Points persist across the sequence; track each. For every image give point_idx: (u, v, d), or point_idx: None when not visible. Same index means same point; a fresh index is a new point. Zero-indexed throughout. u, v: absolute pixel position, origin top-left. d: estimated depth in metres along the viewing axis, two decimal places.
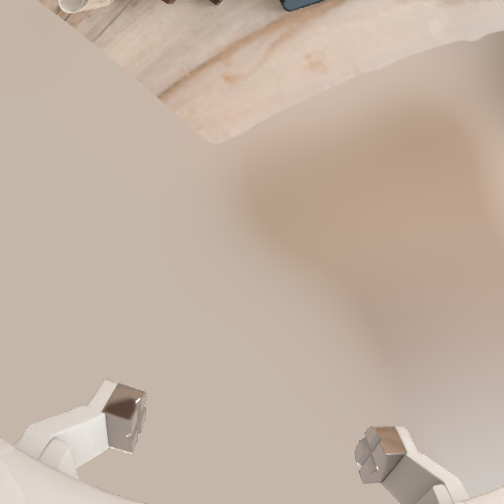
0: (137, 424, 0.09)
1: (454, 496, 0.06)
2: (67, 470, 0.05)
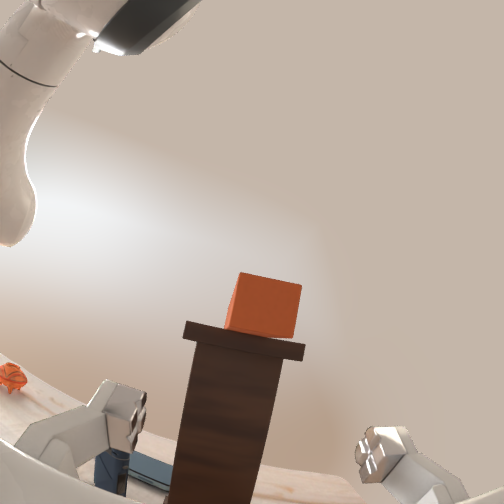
0: (137, 424, 0.09)
1: (454, 496, 0.06)
2: (67, 470, 0.05)
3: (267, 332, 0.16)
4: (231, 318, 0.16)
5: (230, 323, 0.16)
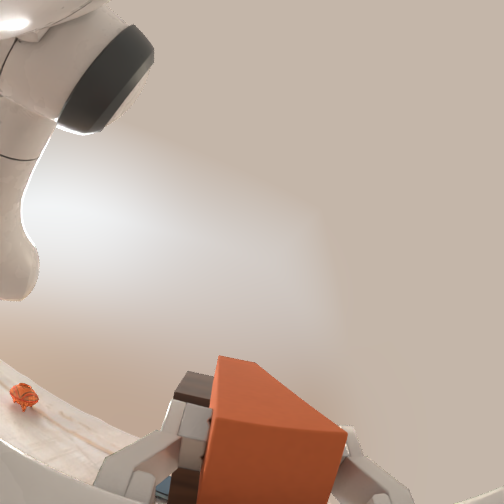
0: None
1: None
2: (152, 501, 0.06)
3: None
4: (200, 499, 0.06)
5: None
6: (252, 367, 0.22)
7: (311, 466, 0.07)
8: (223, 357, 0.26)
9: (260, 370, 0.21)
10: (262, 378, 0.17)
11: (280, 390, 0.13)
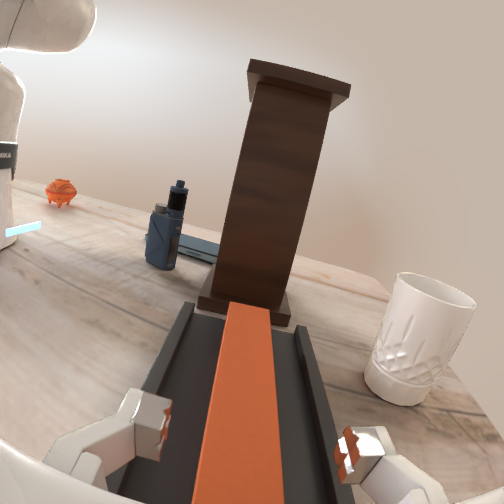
0: (163, 432, 0.09)
1: (433, 501, 0.06)
2: (99, 483, 0.05)
3: None
4: None
5: None
6: (259, 341, 0.22)
7: None
8: (233, 309, 0.26)
9: (266, 351, 0.20)
10: (259, 395, 0.16)
11: (267, 445, 0.12)
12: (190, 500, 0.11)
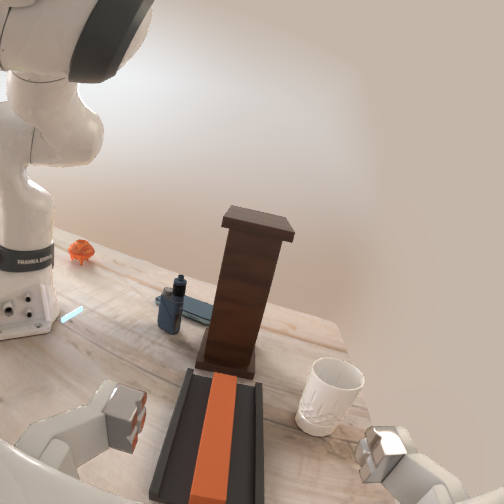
0: (137, 424, 0.09)
1: (454, 496, 0.06)
2: (67, 470, 0.05)
3: None
4: None
5: None
6: (228, 400, 0.39)
7: (216, 503, 0.23)
8: (215, 378, 0.43)
9: (230, 407, 0.37)
10: (224, 431, 0.33)
11: (224, 454, 0.29)
12: (193, 476, 0.28)
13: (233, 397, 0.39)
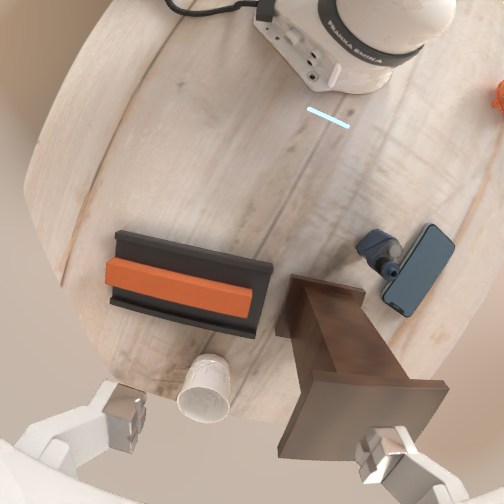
0: (137, 424, 0.09)
1: (454, 496, 0.06)
2: (67, 470, 0.05)
3: None
4: None
5: None
6: (208, 304, 0.44)
7: None
8: (240, 297, 0.44)
9: (198, 305, 0.44)
10: (167, 294, 0.44)
11: (143, 290, 0.44)
12: (139, 262, 0.46)
13: (212, 309, 0.45)
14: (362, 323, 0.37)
